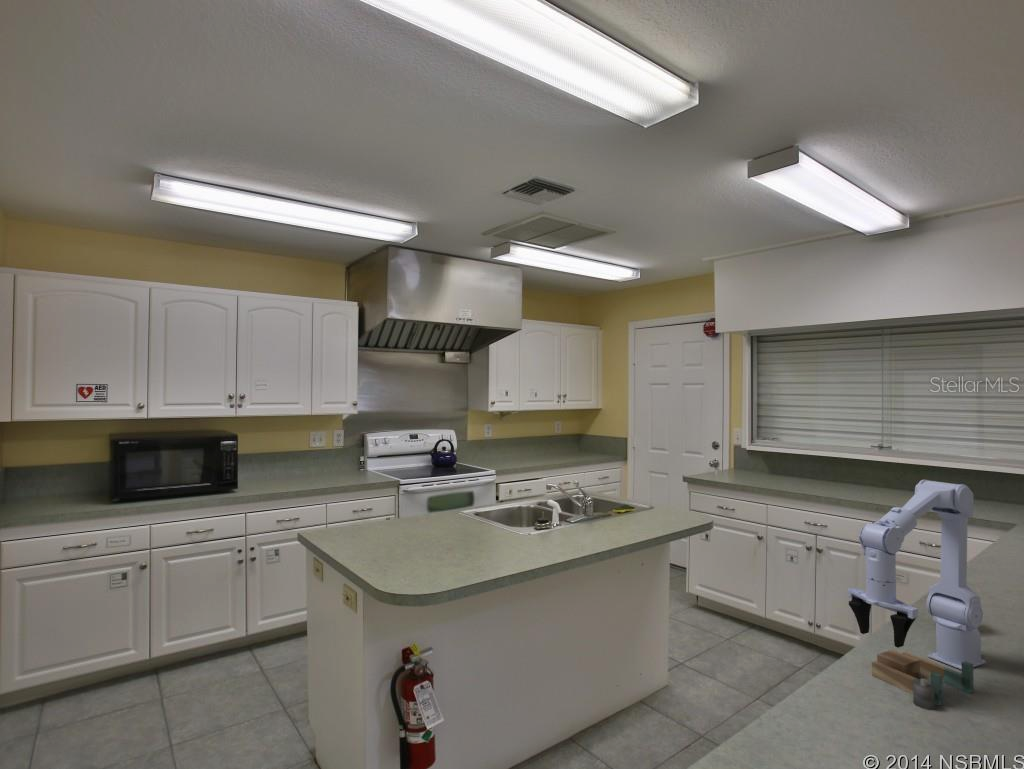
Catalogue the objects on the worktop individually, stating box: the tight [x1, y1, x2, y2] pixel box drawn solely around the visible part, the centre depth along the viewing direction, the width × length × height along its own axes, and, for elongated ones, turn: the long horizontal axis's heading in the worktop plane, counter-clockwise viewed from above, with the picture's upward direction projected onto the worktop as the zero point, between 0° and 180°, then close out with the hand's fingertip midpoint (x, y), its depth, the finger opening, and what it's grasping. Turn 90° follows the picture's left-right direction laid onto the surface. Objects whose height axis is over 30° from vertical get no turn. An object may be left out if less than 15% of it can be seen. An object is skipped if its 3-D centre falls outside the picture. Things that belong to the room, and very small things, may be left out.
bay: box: [871, 651, 975, 710], centre depth 126 cm, size 17×14×6 cm
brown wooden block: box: [876, 649, 921, 679], centre depth 132 cm, size 6×6×4 cm
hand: (881, 639), depth 127 cm, fingers open, 7 cm apart
